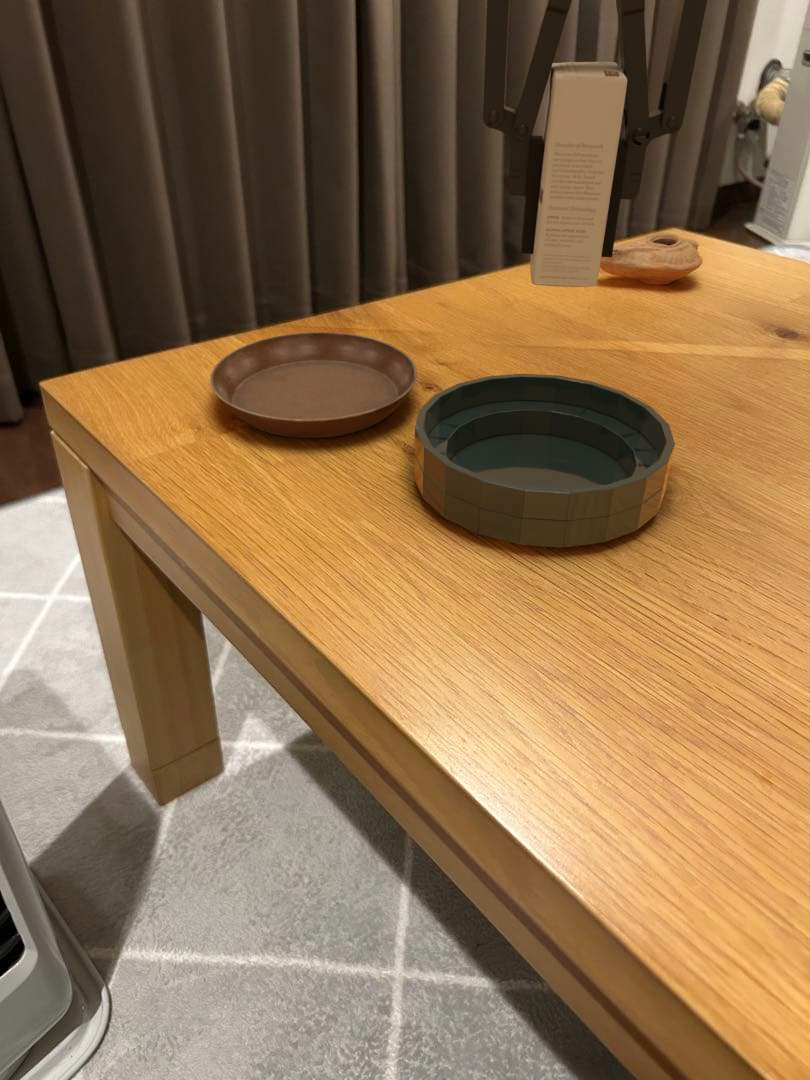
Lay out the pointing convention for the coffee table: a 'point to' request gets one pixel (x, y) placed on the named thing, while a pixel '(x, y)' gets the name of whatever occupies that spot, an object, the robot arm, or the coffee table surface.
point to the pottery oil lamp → (654, 258)
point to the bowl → (542, 459)
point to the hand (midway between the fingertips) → (565, 248)
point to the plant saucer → (314, 383)
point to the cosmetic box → (577, 171)
